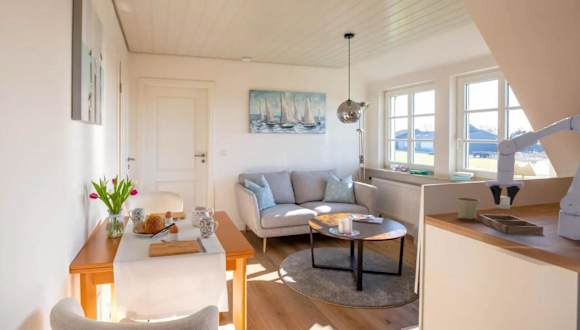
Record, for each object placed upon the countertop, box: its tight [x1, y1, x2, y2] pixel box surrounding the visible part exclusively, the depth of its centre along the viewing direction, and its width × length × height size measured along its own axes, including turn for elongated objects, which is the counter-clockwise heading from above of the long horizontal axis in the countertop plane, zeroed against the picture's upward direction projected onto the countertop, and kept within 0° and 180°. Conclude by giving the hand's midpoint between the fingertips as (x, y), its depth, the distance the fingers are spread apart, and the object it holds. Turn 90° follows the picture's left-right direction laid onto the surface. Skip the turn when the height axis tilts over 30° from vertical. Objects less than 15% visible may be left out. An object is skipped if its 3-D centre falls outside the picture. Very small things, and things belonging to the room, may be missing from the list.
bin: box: [477, 213, 544, 235], centre depth 148 cm, size 20×14×4 cm, turn 1°
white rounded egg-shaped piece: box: [496, 195, 511, 210], centre depth 152 cm, size 4×4×4 cm
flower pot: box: [455, 197, 481, 220], centre depth 165 cm, size 9×9×9 cm
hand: (503, 204), depth 152 cm, fingers closed on white rounded egg-shaped piece, 4 cm apart
